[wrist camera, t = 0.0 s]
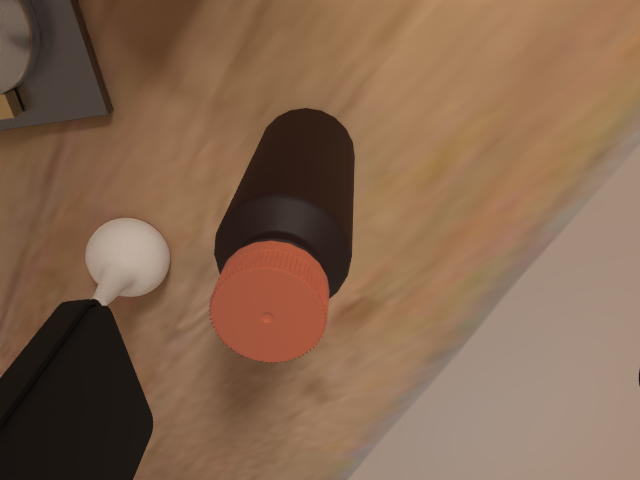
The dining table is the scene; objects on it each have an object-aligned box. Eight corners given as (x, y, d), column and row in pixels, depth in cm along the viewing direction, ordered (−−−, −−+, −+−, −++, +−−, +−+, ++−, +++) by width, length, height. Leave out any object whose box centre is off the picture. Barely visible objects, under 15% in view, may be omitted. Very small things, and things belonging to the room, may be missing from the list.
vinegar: (373, 164, 42) (382, 336, 24) (298, 213, 44) (255, 403, 26) (317, 86, 39) (281, 213, 22) (240, 142, 41) (151, 298, 24)
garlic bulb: (92, 262, 48) (44, 328, 41) (102, 200, 44) (51, 261, 38) (166, 287, 48) (131, 355, 42) (181, 227, 45) (146, 291, 38)
